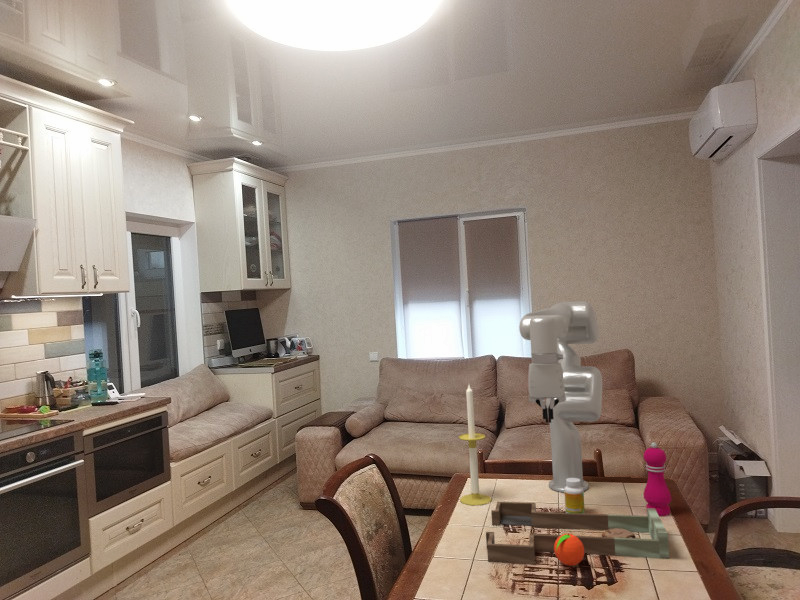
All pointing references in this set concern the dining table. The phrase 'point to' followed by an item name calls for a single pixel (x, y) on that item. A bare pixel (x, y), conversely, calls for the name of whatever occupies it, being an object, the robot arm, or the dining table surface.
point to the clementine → (569, 549)
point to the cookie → (618, 533)
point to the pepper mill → (656, 481)
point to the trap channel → (592, 545)
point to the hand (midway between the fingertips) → (548, 421)
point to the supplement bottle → (574, 496)
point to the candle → (473, 456)
